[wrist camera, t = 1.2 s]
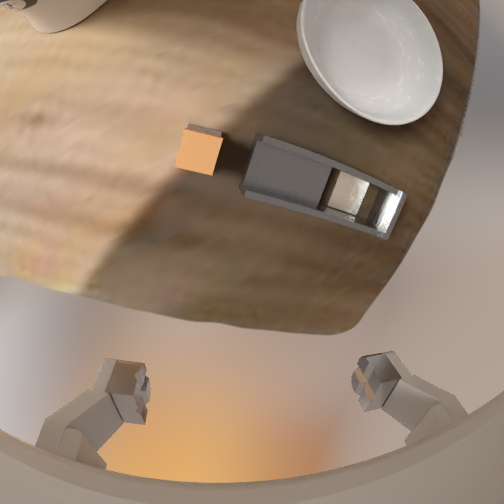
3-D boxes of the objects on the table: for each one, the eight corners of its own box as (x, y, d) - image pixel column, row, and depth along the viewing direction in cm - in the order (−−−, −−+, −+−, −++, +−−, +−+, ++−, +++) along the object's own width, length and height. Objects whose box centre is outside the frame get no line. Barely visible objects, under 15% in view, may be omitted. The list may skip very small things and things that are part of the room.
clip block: (186, 128, 28) (184, 129, 24) (220, 136, 29) (223, 138, 26) (177, 161, 29) (174, 166, 26) (210, 168, 31) (212, 175, 27)
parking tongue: (188, 123, 29) (188, 124, 28) (221, 131, 30) (221, 132, 29) (177, 163, 31) (176, 165, 30) (209, 171, 32) (209, 172, 31)
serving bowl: (271, 101, 29) (288, 97, 23) (291, -30, 20) (309, -52, 14) (403, 138, 33) (434, 145, 27) (415, 24, 24) (445, 18, 18)
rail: (256, 132, 30) (265, 135, 26) (387, 184, 36) (407, 194, 32) (238, 186, 33) (244, 198, 29) (369, 226, 39) (387, 240, 35)
